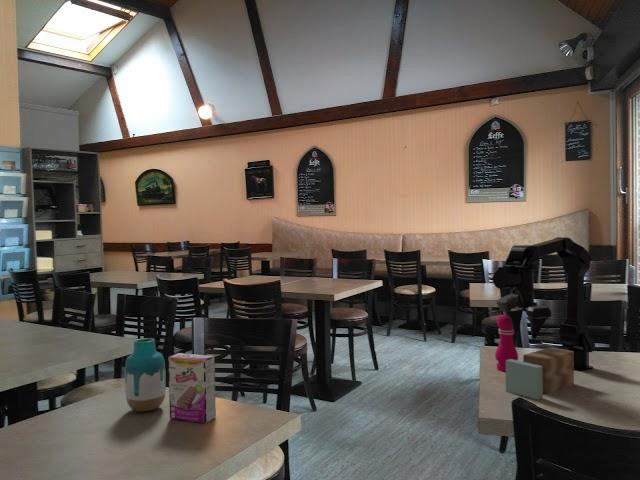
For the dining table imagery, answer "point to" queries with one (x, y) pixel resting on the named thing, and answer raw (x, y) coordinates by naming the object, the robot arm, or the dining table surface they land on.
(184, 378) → the candy bar box
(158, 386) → the vase
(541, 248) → the robot arm
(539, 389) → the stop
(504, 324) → the pepper mill
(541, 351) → the wooden block
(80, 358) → the dining table surface
